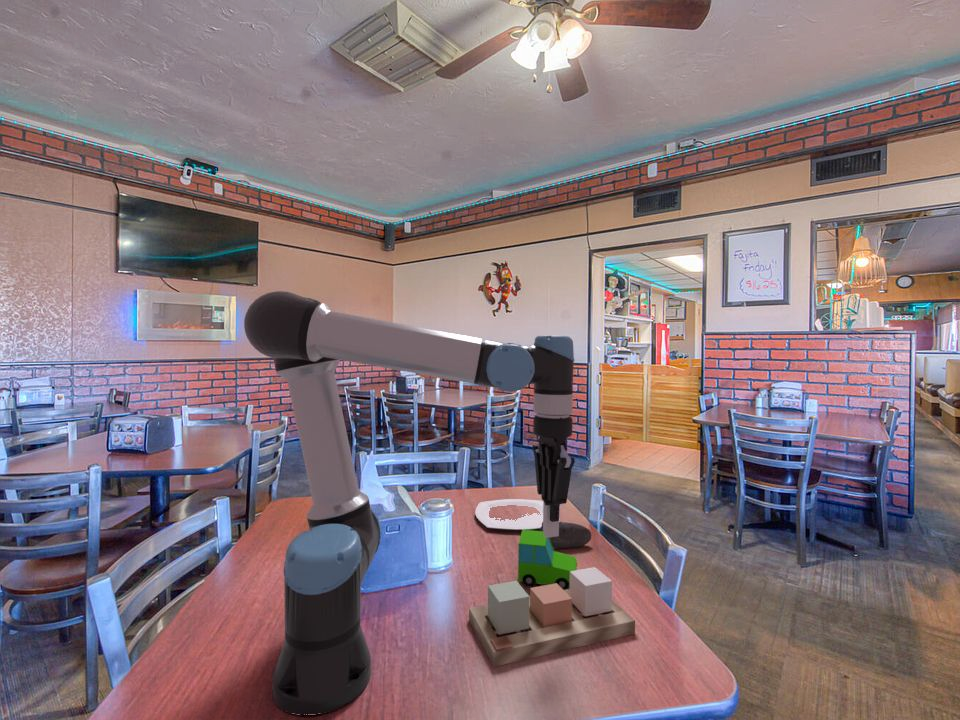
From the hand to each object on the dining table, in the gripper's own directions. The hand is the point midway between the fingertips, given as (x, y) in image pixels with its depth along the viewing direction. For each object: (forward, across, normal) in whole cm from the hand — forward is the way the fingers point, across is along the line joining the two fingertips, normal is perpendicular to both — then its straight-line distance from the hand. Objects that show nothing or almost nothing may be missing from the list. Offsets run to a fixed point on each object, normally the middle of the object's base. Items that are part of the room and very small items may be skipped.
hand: (550, 535), depth 87 cm
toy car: (+18, +16, -8) cm, 26 cm away
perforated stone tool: (+18, +31, -21) cm, 42 cm away
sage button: (+16, 0, +9) cm, 18 cm away
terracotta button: (+17, 0, 0) cm, 17 cm away
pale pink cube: (+15, 0, -9) cm, 18 cm away
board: (+18, 0, 0) cm, 18 cm away
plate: (+19, +55, -17) cm, 60 cm away
